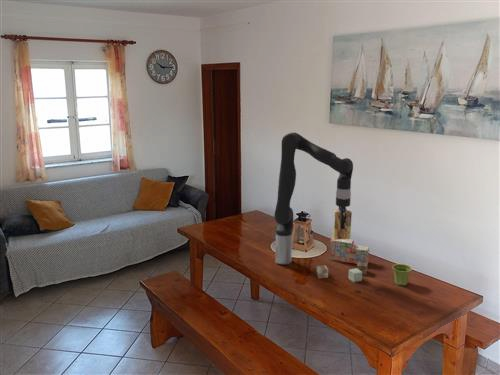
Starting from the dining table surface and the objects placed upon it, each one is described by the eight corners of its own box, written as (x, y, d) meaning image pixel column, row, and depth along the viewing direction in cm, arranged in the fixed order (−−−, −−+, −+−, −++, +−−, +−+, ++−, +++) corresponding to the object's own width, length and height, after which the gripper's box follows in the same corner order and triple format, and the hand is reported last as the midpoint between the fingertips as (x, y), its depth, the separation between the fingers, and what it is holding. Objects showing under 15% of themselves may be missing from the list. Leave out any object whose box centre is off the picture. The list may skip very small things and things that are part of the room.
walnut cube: (356, 273, 242) (357, 265, 241) (357, 270, 247) (358, 261, 246) (366, 275, 241) (366, 266, 239) (366, 271, 245) (367, 262, 244)
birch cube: (318, 278, 237) (319, 269, 236) (316, 274, 242) (316, 265, 241) (328, 277, 238) (328, 269, 236) (325, 273, 242) (325, 265, 241)
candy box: (348, 236, 241) (349, 209, 238) (350, 239, 237) (351, 212, 233) (332, 237, 241) (333, 210, 237) (334, 239, 237) (335, 212, 233)
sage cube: (353, 282, 232) (354, 273, 231) (348, 278, 237) (348, 269, 236) (361, 280, 234) (362, 271, 233) (356, 276, 239) (356, 268, 237)
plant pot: (401, 288, 225) (402, 272, 222) (387, 281, 233) (388, 266, 231) (414, 284, 229) (415, 269, 227) (400, 277, 237) (401, 262, 235)
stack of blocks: (368, 262, 258) (369, 242, 255) (366, 266, 252) (367, 245, 249) (332, 255, 267) (333, 236, 264) (329, 259, 262) (330, 239, 259)
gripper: (334, 192, 241) (333, 222, 245) (337, 200, 227) (336, 231, 231) (348, 193, 240) (347, 223, 244) (352, 200, 226) (350, 232, 230)
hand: (341, 227), depth 237 cm, fingers closed on candy box, 4 cm apart
